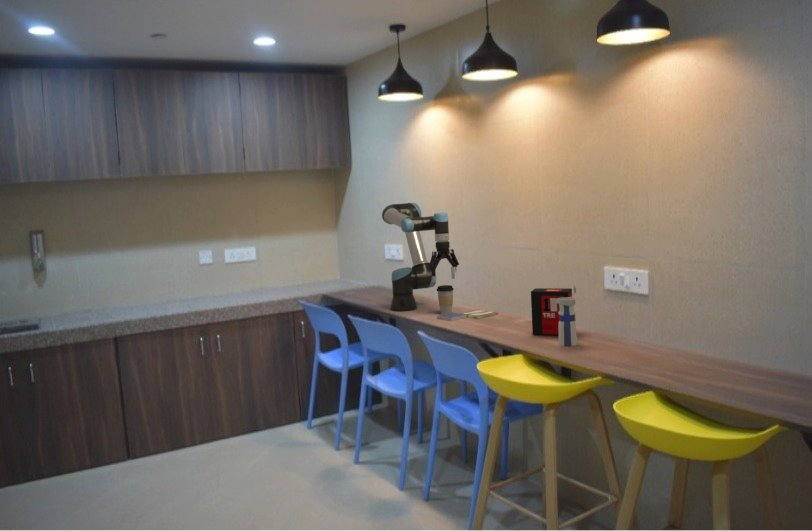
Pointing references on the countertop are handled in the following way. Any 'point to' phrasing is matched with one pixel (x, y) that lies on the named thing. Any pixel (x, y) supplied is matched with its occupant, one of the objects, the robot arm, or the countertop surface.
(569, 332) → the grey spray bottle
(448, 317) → the ink pad
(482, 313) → the board
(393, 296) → the robot arm
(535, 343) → the countertop surface
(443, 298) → the coffee cup
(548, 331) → the cleaning product box
